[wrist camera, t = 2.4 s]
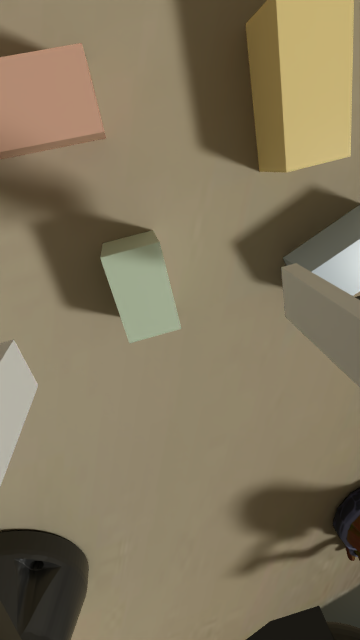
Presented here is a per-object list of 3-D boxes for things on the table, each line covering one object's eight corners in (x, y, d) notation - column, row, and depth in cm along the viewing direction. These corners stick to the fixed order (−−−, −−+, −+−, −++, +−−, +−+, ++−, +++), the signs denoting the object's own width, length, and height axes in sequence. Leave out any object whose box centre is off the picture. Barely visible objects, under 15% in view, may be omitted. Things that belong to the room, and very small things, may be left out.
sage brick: (172, 305, 26) (181, 328, 22) (127, 317, 26) (129, 343, 22) (152, 229, 23) (159, 242, 19) (102, 242, 23) (100, 257, 19)
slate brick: (299, 291, 27) (328, 311, 24) (282, 257, 26) (310, 272, 22) (373, 241, 27) (415, 254, 23) (360, 203, 25) (402, 209, 21)
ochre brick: (312, 158, 23) (350, 156, 19) (258, 171, 23) (286, 172, 19) (308, 11, 19) (354, -26, 16) (244, 25, 19) (275, -10, 15)
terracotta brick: (-8, 161, 20) (-37, 159, 16) (-36, 90, 18) (-76, 70, 14) (106, 138, 20) (103, 131, 17) (88, 67, 19) (81, 42, 15)
